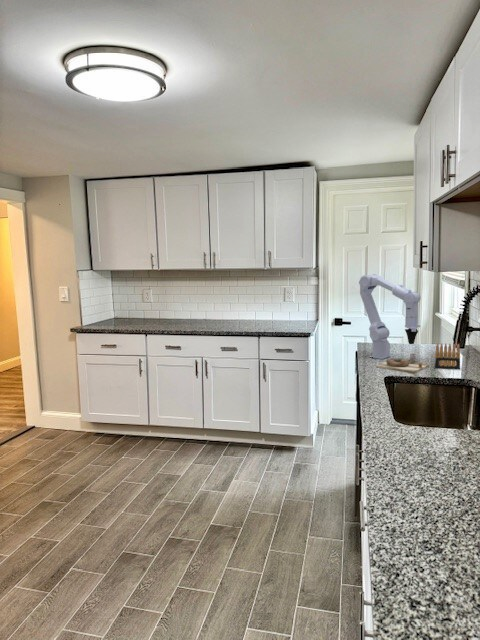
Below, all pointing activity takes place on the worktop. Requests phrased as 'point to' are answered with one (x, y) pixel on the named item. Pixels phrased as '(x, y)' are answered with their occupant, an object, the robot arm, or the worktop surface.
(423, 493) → the worktop surface
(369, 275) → the robot arm
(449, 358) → the ammunition clip
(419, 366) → the board
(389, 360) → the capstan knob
